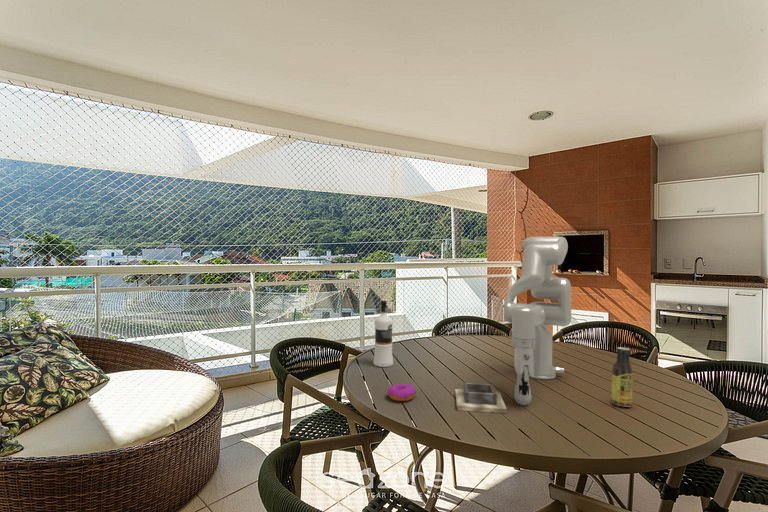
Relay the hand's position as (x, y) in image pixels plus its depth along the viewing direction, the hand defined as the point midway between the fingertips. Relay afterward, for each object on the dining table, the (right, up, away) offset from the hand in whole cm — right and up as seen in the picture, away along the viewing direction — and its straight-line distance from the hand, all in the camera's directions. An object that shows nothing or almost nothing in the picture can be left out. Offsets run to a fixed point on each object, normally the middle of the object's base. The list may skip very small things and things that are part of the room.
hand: (522, 394), depth 136 cm
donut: (-42, -3, +4) cm, 43 cm away
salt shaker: (0, -3, 0) cm, 3 cm away
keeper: (-15, -3, 0) cm, 15 cm away
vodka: (-49, -3, +45) cm, 66 cm away
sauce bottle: (+34, -4, -1) cm, 34 cm away
